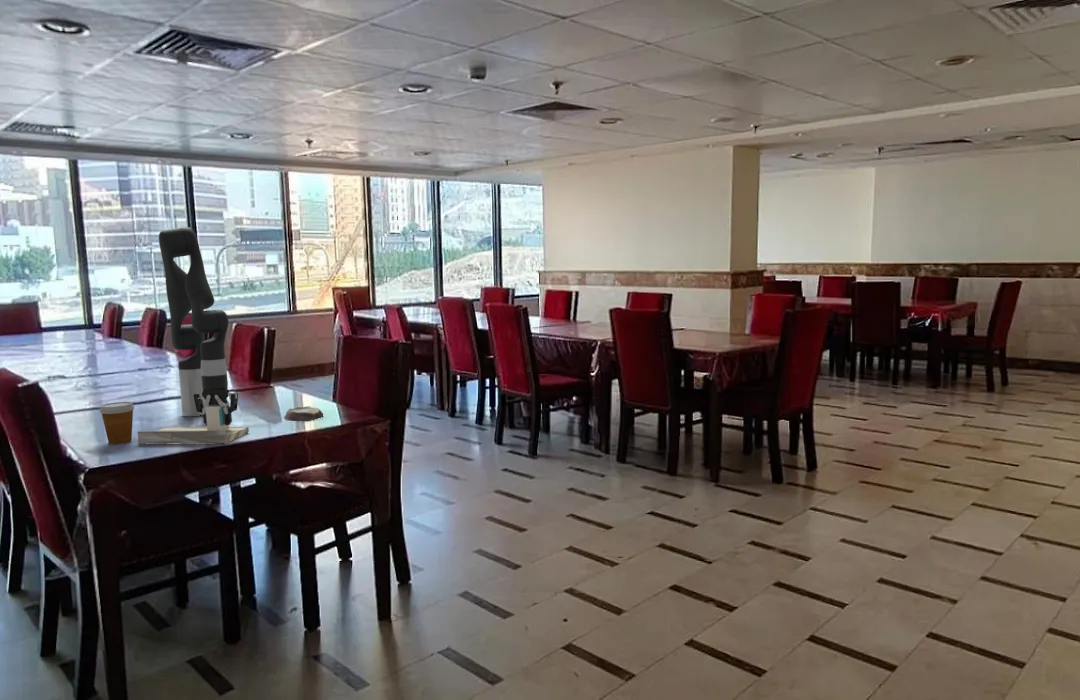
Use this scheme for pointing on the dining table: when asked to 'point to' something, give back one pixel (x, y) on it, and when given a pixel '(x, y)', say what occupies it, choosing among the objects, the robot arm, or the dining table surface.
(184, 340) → the robot arm
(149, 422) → the dining table surface
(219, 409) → the carton
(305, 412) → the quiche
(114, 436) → the disposable coffee cup
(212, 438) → the cream rectangular tray
